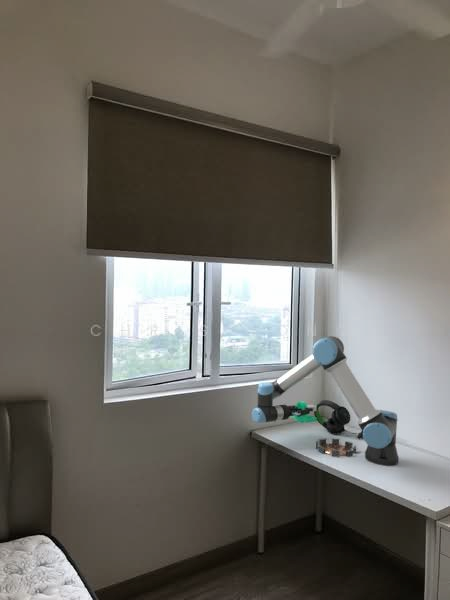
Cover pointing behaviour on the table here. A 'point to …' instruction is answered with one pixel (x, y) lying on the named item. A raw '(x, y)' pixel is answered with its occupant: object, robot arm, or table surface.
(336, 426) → the headset
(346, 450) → the ring collar
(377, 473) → the table surface
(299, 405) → the camera mount
